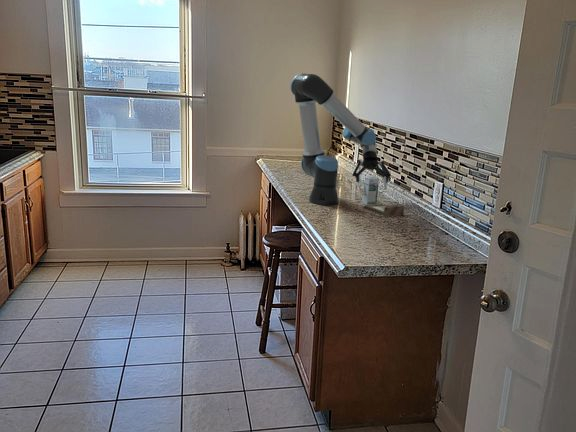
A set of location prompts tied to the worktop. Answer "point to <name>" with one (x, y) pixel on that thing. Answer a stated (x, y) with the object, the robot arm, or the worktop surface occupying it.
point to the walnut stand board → (386, 209)
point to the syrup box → (370, 190)
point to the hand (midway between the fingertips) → (372, 187)
